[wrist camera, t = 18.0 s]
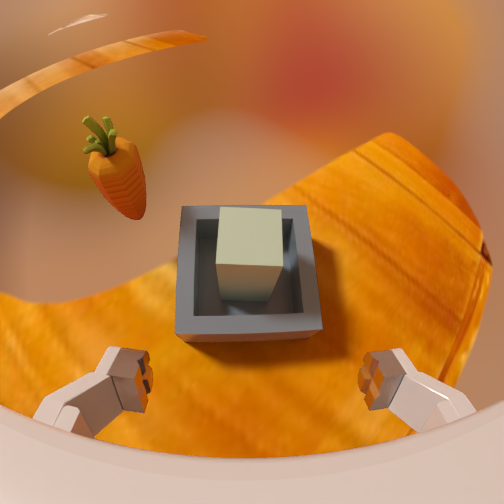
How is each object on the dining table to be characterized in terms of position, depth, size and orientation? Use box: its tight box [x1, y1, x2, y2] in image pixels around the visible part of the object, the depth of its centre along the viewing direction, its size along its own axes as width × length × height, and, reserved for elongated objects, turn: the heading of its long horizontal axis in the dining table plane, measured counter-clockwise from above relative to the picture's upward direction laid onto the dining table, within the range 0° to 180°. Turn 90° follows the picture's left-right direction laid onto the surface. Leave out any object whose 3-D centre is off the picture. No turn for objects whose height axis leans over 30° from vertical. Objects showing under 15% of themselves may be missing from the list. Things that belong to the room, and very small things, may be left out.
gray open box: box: [175, 205, 323, 342], centre depth 28 cm, size 12×12×5 cm
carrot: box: [83, 116, 146, 220], centre depth 25 cm, size 5×5×15 cm
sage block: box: [216, 207, 283, 302], centre depth 25 cm, size 4×4×9 cm
